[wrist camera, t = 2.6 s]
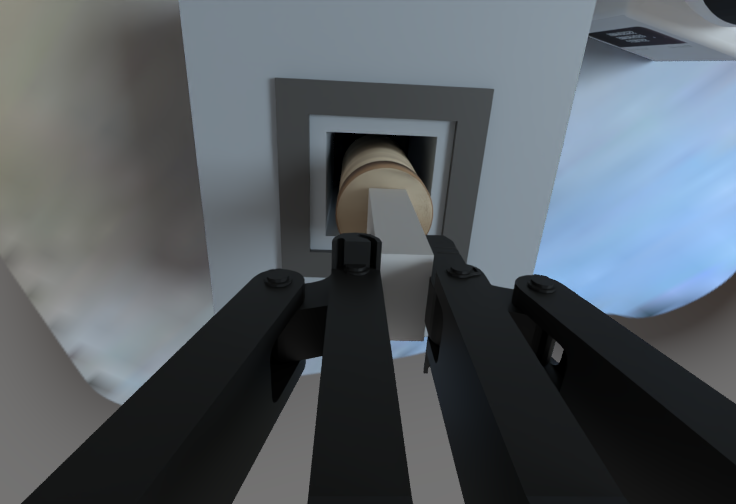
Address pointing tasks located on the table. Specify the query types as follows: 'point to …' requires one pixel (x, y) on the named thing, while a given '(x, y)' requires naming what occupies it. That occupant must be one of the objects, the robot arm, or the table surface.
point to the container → (668, 28)
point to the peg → (377, 182)
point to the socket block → (377, 121)
